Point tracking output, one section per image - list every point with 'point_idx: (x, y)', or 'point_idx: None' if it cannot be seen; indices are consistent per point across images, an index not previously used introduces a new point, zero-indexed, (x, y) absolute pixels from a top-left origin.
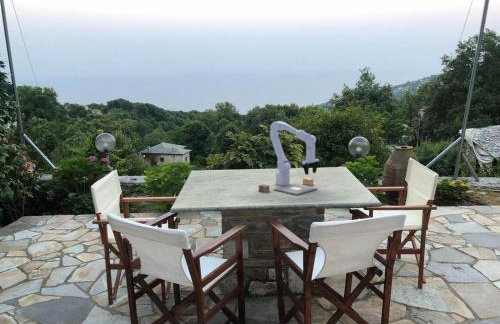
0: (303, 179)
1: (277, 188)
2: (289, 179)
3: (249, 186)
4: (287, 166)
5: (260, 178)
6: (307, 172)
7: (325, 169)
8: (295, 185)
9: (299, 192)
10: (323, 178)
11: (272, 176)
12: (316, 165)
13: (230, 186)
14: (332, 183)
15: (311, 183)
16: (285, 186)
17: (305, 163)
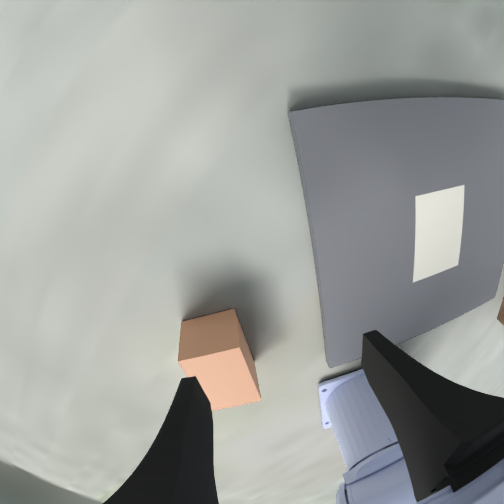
0: (258, 390)
1: (486, 292)
2: (351, 408)
3: (468, 385)
4: (409, 485)
5: (339, 471)
6: (399, 349)
7: (21, 461)
8: (372, 319)
9: (488, 113)
10: (45, 400)
11: (276, 485)
12: (178, 488)
13: (487, 393)
14: (16, 274)
15: (207, 325)
16: (433, 319)
17: (489, 470)
